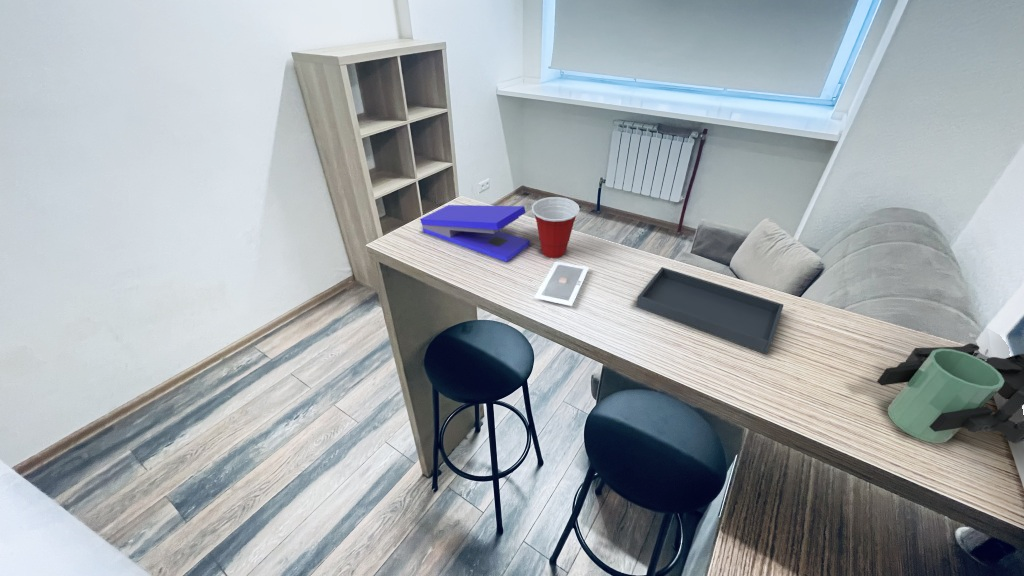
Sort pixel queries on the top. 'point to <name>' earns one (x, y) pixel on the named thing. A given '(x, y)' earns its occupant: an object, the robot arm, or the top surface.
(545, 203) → the plastic cup
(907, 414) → the tumbler
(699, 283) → the tray
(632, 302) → the top surface
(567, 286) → the touchpad
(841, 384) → the top surface
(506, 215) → the stapler
